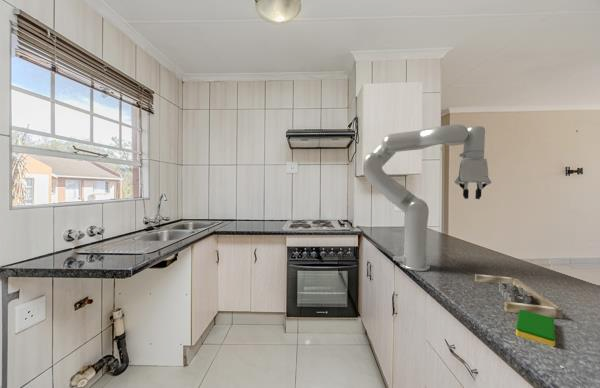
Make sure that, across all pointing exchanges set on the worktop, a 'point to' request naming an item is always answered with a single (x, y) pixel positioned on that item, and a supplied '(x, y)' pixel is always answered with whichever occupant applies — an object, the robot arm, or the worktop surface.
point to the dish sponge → (536, 327)
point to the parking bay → (542, 308)
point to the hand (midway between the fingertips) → (471, 198)
